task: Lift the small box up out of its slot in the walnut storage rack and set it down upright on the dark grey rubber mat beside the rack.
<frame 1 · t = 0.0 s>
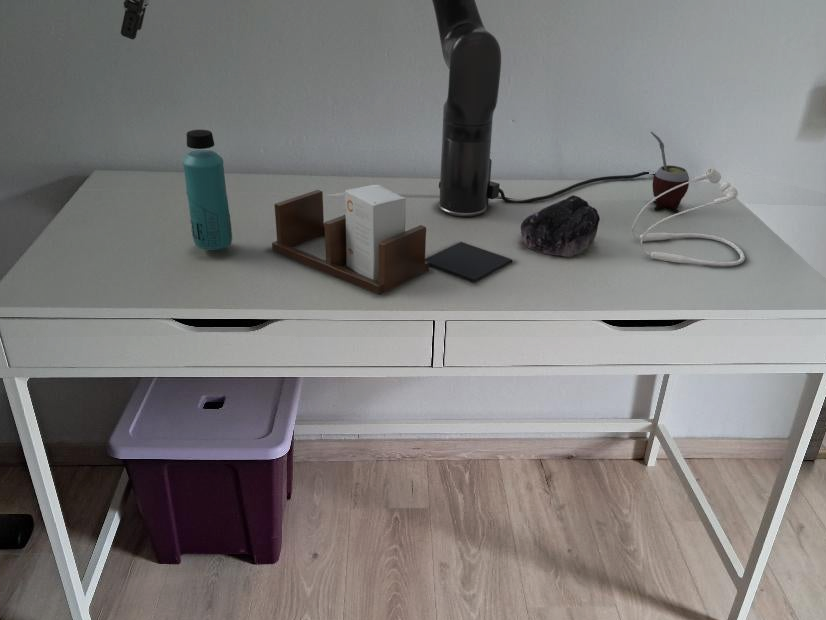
hand: (130, 32, 127), 31 cm above the table, tool tilted 20°, fingers open, 8 cm apart
beverage bottle: (214, 252, 134), on the table
earphone: (687, 252, 144), on the table
crystal cluster: (557, 245, 144), on the table
mate gourd: (663, 208, 162), on the table
rack: (349, 260, 133), on the table
mat: (467, 263, 135), on the table
small box: (375, 271, 131), resting in rack
multiport hub: (368, 209, 154), on the table
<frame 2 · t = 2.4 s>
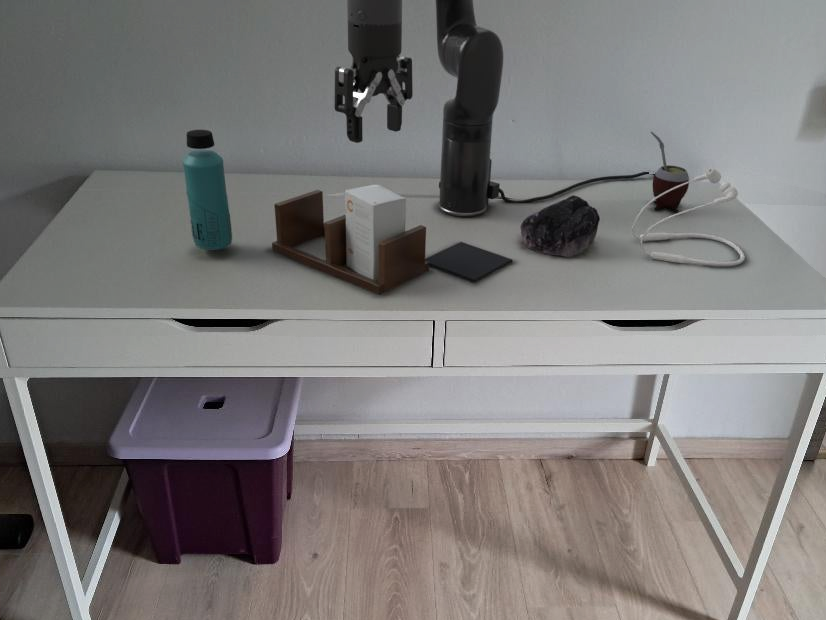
hand: (375, 135, 119), 22 cm above the table, tool pointing down, fingers open, 8 cm apart
nothing on the table moved.
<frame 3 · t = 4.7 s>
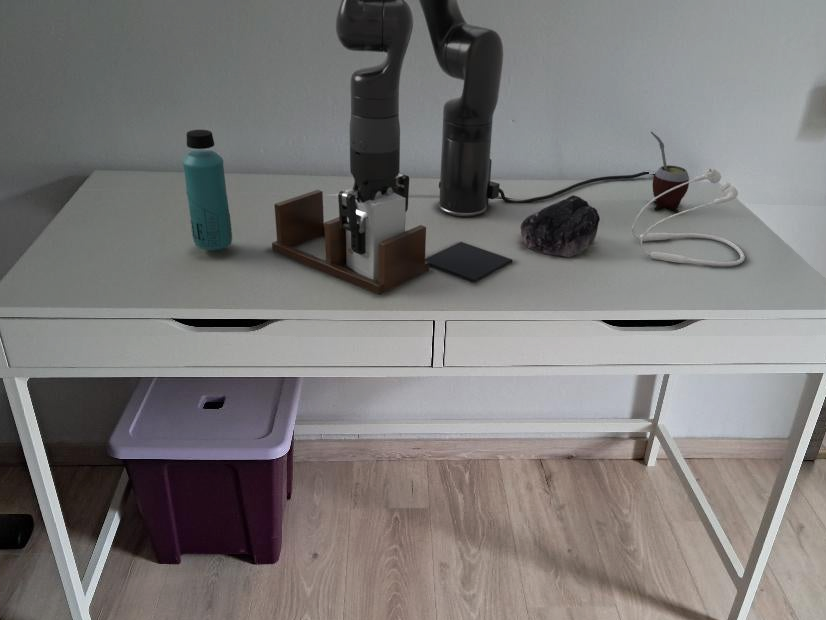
hand: (374, 245, 128), 4 cm above the table, tool pointing down, fingers closed on small box, 7 cm apart
small box: (375, 271, 131), resting in rack, touching gripper
everything else where it was.
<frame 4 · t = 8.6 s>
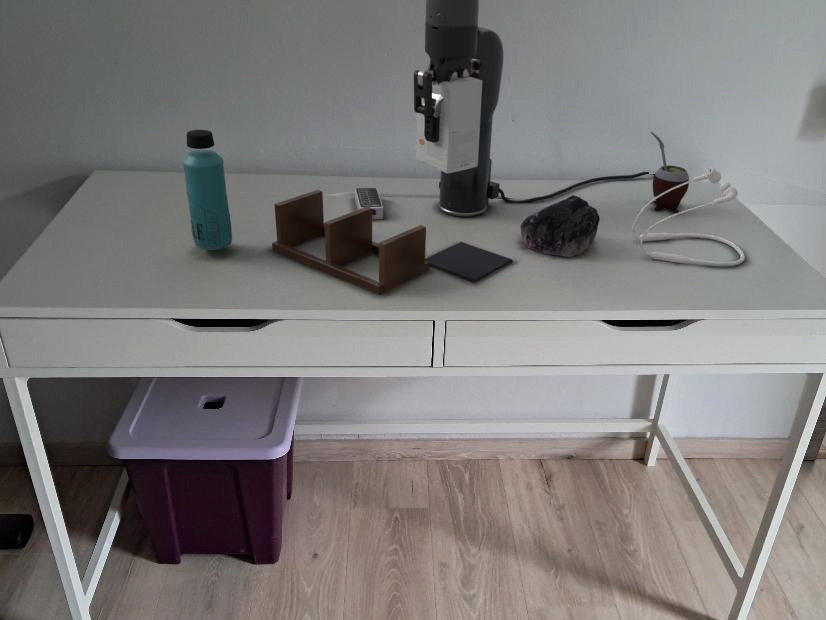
hand: (447, 136, 122), 22 cm above the table, tool pointing down, fingers closed on small box, 7 cm apart
small box: (446, 165, 124), point 17 cm above the table, touching gripper
everything else where it was.
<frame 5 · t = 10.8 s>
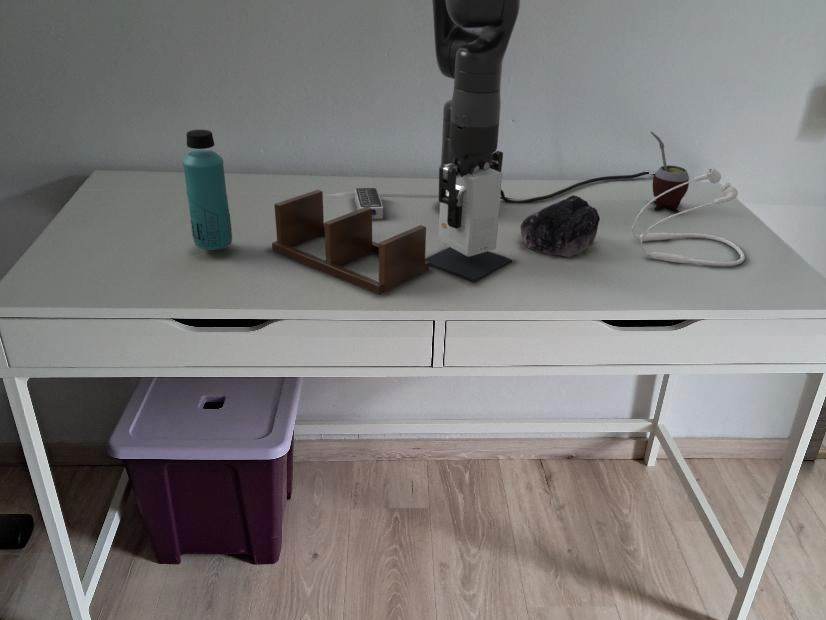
hand: (468, 220, 131), 8 cm above the table, tool pointing down, fingers closed on small box, 7 cm apart
small box: (466, 246, 133), point 3 cm above the table, touching gripper
everything else where it was.
when the fingers open (5 cm above the table, at t = 12.3 s): small box stays where it is, resting on mat.
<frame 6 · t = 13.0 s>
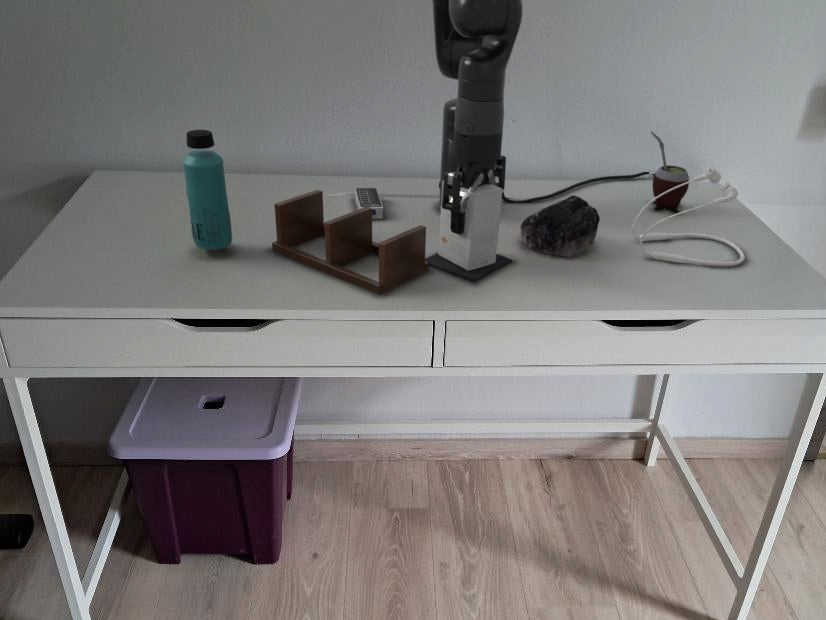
hand: (472, 225, 131), 7 cm above the table, tool pointing down, fingers open, 8 cm apart
small box: (466, 260, 134), resting on mat, touching gripper
everything else where it was.
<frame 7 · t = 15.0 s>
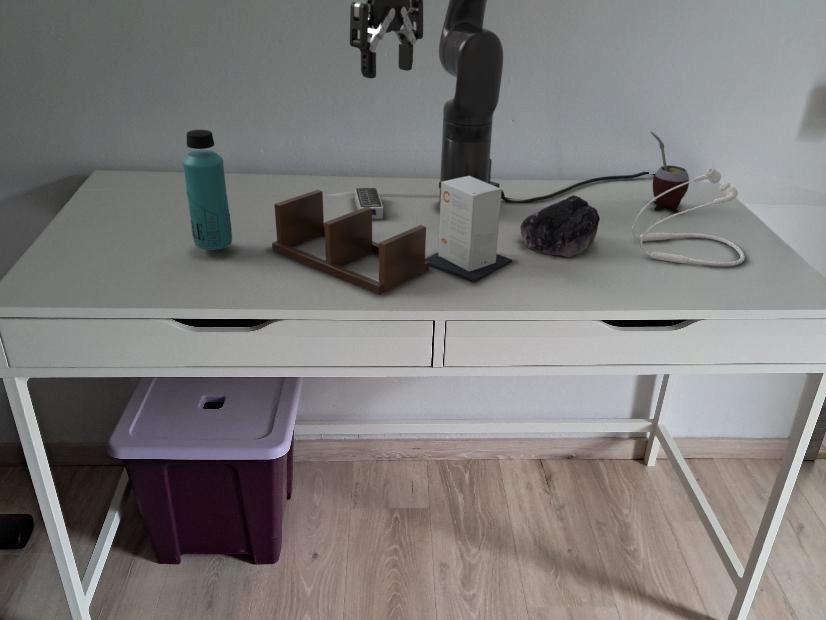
hand: (387, 73, 123), 29 cm above the table, tool pointing down, fingers open, 8 cm apart
small box: (466, 260, 134), resting on mat
everything else where it was.
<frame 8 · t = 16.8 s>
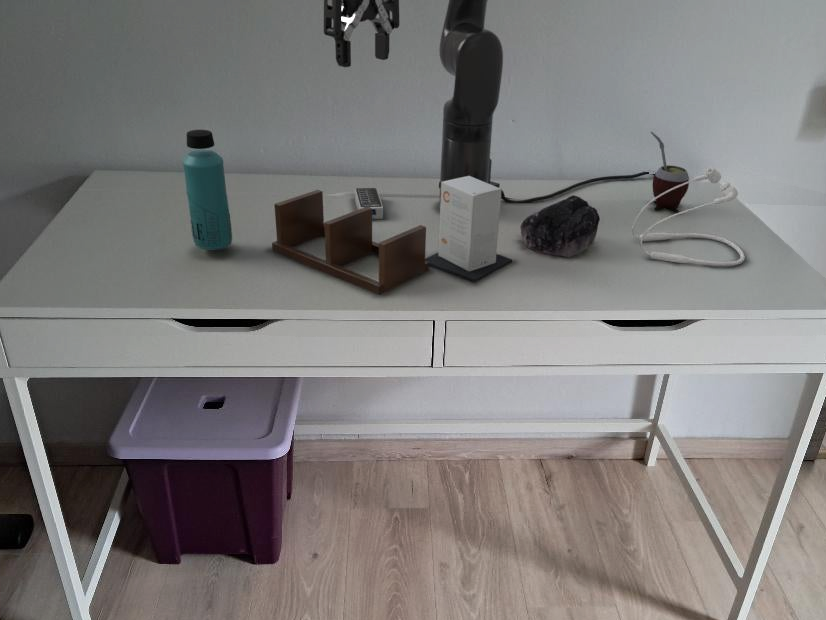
hand: (363, 62, 123), 30 cm above the table, tool pointing down, fingers open, 8 cm apart
nothing on the table moved.
at the end: small box inside the target area on the mat (0.2 cm from its centre), point 0.4 cm above the mat's base; small box tilted 0°; the gripper is holding nothing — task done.
